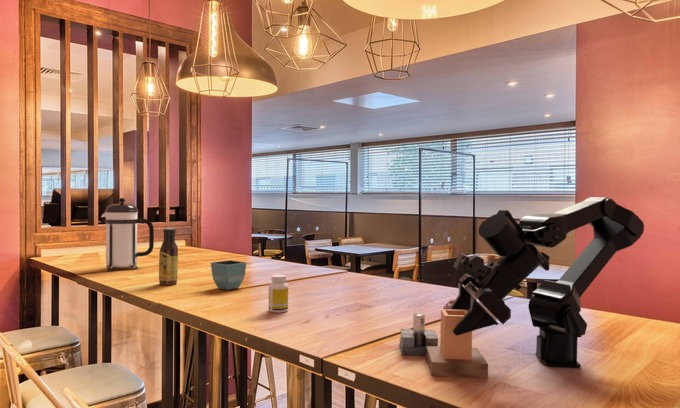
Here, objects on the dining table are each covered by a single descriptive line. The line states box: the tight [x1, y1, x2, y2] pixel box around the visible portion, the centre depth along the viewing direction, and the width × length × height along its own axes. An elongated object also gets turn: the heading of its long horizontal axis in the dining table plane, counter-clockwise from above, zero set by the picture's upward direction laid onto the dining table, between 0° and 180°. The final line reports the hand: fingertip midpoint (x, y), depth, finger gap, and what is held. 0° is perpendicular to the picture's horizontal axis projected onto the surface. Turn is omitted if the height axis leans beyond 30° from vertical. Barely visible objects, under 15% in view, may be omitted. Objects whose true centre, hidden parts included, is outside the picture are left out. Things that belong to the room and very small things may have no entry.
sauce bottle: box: [158, 227, 179, 286], centre depth 165 cm, size 7×6×20 cm
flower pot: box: [210, 259, 247, 291], centre depth 160 cm, size 9×9×9 cm
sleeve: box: [439, 308, 473, 360], centre depth 89 cm, size 5×5×8 cm
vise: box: [399, 312, 439, 357], centre depth 99 cm, size 8×7×8 cm
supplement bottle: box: [268, 274, 289, 314], centre depth 130 cm, size 5×5×10 cm
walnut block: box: [425, 345, 489, 379], centre depth 89 cm, size 10×9×2 cm
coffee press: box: [101, 197, 155, 272], centre depth 198 cm, size 17×16×30 cm
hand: (450, 326), depth 89 cm, fingers open, 9 cm apart
